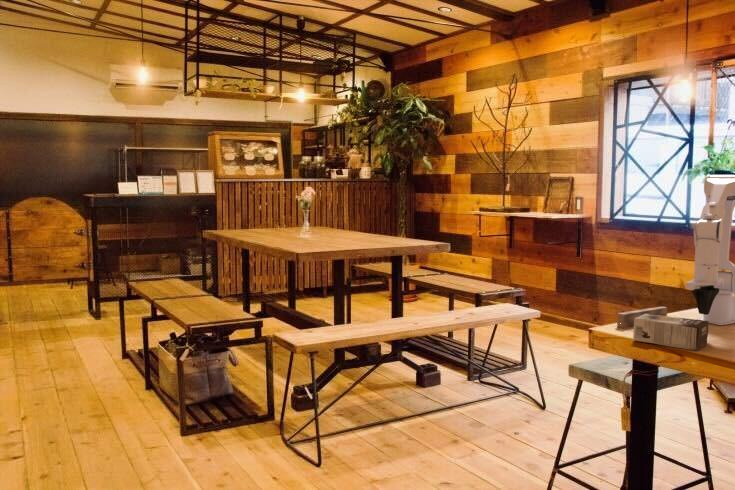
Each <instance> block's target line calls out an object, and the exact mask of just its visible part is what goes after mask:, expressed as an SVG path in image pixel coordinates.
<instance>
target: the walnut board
mask: <svg viewBox="0 0 735 490" xmlns="http://www.w3.org/2000/svg"><path fill="white" fill-rule="evenodd" d="M643 314H653V315H661V316H668V307H666V306H657V307H656V306H655V307H649V308H643V309H635V310H631V311H623V312H618V313H617V319H616V320H617V321H616V327H617V328H621V329H627V328H631V327H634V318H636V317H639V316H641V315H643ZM620 323H621V324H620ZM626 327H627V328H626Z"/></svg>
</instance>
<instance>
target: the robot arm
mask: <svg viewBox="0 0 735 490" xmlns="http://www.w3.org/2000/svg"><path fill="white" fill-rule="evenodd" d="M703 183H704V184H703V192H704V195H705V198H706V200H707V203H706V204H705V205H703V207H702V210H701V212H700V213H701V214H700V218H699V220H698V221H695V223H694V227H693V239H694V241H693V242H694V243H693V244H694V247H695V249H694V250H695V254H694V271H693V279H691V280H689V281H686V282H685V290H687V291H690V292H691V293H692V294H693V296H694V299H695V303H696V305H697V310H698V314H700V315H703V316H702V317H701V318H697V319H696V320H702V321H709V324H713V325H717V326H726V325H731V324H735V264H734V263H733V262H732V261H731V260H729V259H730V249H731V247H730V246H731V236H732V224H733V212H734V210H735V174H707V175H706V176H705V178H704V182H703Z"/></svg>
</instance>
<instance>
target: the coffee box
mask: <svg viewBox="0 0 735 490" xmlns="http://www.w3.org/2000/svg"><path fill="white" fill-rule="evenodd" d="M709 325H710V323H709V321H702V320H697V319H692V318H685V317H677V316H676V317H675V316H668V315H667V316H661V315H653V314H643V315H641V316H639V317H636V318H634V326H633V338H632V339H633V340H632V341H634V342H640V343H648V344H652V345H653V344H654V345H659V346H665V347H669V348H670V347H671V348H677V349H678V348H679V349H684V350H689V351H690V350H691V351H695V352H698V351H700V350H701V349H703V348H704V347H705V346H707V345H708V336H709Z"/></svg>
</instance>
